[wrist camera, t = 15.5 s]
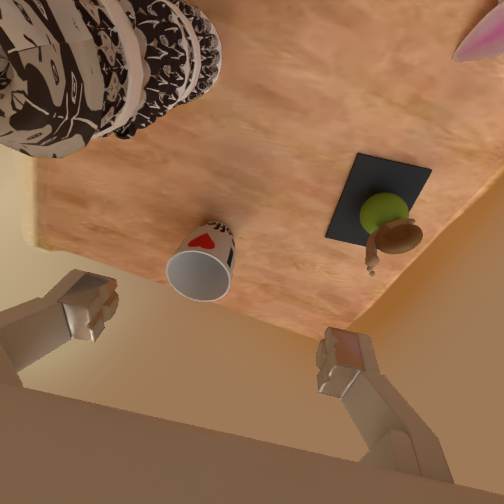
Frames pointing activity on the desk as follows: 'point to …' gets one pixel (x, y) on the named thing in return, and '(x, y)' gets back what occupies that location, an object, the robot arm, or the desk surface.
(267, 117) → the desk surface
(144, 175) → the desk surface
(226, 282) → the cup
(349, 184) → the mat
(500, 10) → the lily
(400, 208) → the snail figurine
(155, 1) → the black-white patterned cylinder
